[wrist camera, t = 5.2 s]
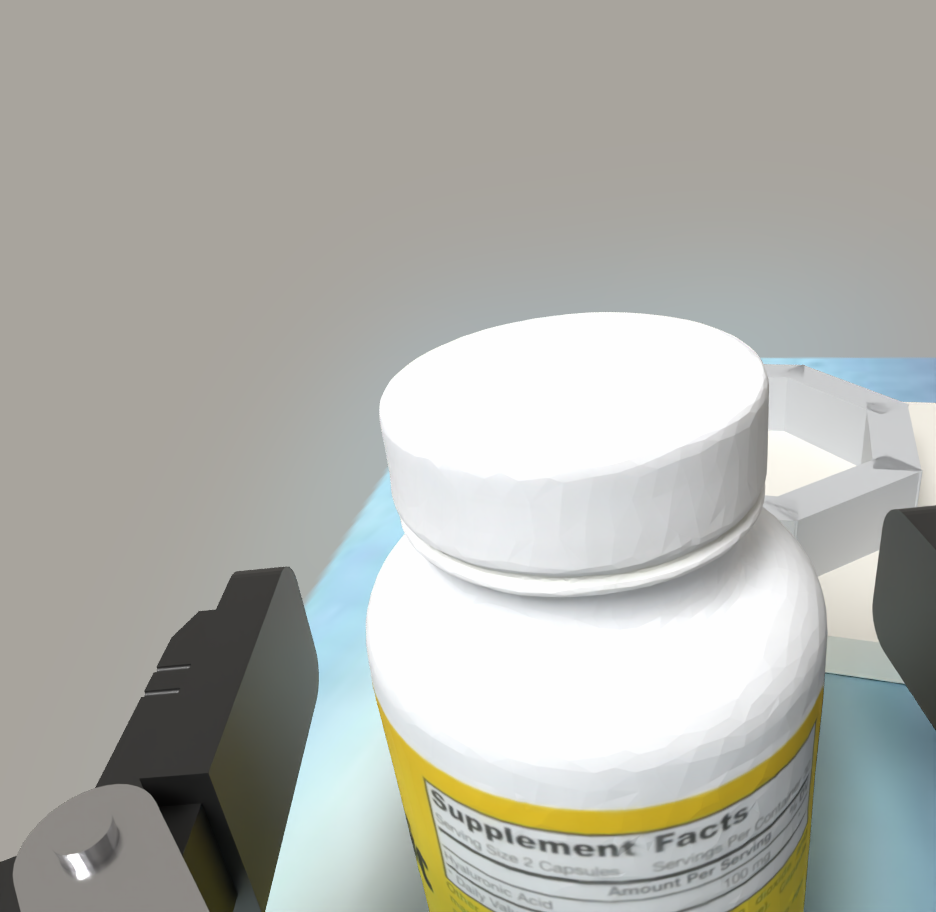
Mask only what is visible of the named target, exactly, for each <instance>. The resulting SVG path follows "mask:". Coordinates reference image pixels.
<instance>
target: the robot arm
mask: <svg viewBox="0 0 936 912" xmlns="http://www.w3.org/2000/svg"><path fill="white" fill-rule="evenodd" d="M872 613H873V622H874V627H875V631H876V635H877V638H878V640H879V643H880V645H881V647H882V649H883V651H884V653H885V654H886V656H887V657H888V659H889V660H890V662H891V663H892V665H893V666H894V668H895V669H896V671H897V672H898V674H899V675H900V677H901V679H902V680H903V682H904V683H905V685H906V686H907V688H908V689H909V691H910V692H911V694H912V695H913V697H914V698H915V700H916V701H917V703H918V704H919V706H920V707H921V709H922V710H923V712H924V714H925V715H926V717H927V718H928V720H929V721H930V723H931V724H932V726H933V727H934V729H935V730H936V505H933V506H923V507H913V508H902V509H893V510H890V511H889V512H888V513H887V514H886V516H885V519H884V522H883V527H882V534H881V541H880V549H879V557H878V564H877V572H876V580H875V587H874V595H873V604H872ZM318 685H319V671H318V660H317V654H316V650H315V646H314V642H313V638H312V635H311V631H310V627H309V624H308V620H307V616H306V612H305V609H304V605H303V601H302V598H301V594H300V590H299V587H298V583H297V579H296V576H295V574H294V572H293V570H292V569H291V568H290V567H278V568H267V569H257V570H247V571H237V572H235V573H234V574H233V575H232V576H231V578H230V580H229V582H228V584H227V587H226V589H225V591H224V593H223V595H222V598H221V600H220V602H219V604H218V606H217V609H216V610H208V611H199V612H198V613H197V614H196V615H195V616H194V617H193V618H191V620H190V621H188V622H187V623H186V624H185V625H184V626H183V628H181V629H180V630H179V631H178V632H177V633H176V634H175V635H174V636H173V637H172V638H171V640H170V642H169V644H168V646H167V648H166V650H165V652H164V654H163V655H162V658H161V660H160V661H159V663H158V665H157V672H155V673H153V675H152V677H151V679H150V681H149V683H148V685H147V687H146V689H145V697H141V699H140V701H139V703H138V705H137V707H136V709H135V711H134V713H133V715H132V717H131V719H130V720H129V722H128V725H127V726H126V728H125V730H124V732H123V734H122V736H121V738H120V740H119V742H118V744H117V746H116V748H115V750H114V752H113V754H112V756H111V758H110V760H109V762H108V764H107V766H106V768H105V770H104V772H103V774H102V776H101V778H100V780H99V782H98V783H97V786H96V787H95V788H94V789H91V790H89V791H86V792H83V793H81V794H79V795H77V796H75V797H73V798H71V799H70V800H68V801H66V802H65V803H63V804H61V805H60V806H58V807H57V808H56V809H54V810H53V811H52V812H50V813H49V814H48V815H47V816H46V817H45V818H44V819H43V820H42V821H41V822H39V824H38V825H37V826H36V827H35V828H34V829H33V830H32V831H31V832H30V834H29V835H28V837H27V838H26V840H25V841H24V842H23V844H22V846H21V848H20V850H19V852H18V854H17V856H15V857H12V858H10V859H7V860H5V861H2V862H0V912H265V910H266V906H267V901H268V897H269V893H270V889H271V885H272V881H273V877H274V873H275V869H276V864H277V860H278V856H279V852H280V848H281V844H282V840H283V836H284V831H285V827H286V823H287V819H288V815H289V811H290V807H291V803H292V799H293V794H294V790H295V786H296V782H297V778H298V774H299V770H300V766H301V761H302V757H303V753H304V749H305V745H306V741H307V737H308V733H309V729H310V724H311V720H312V716H313V712H314V708H315V704H316V700H317V694H318Z"/></svg>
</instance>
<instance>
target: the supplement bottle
mask: <svg viewBox="0 0 936 912" xmlns="http://www.w3.org/2000/svg"><path fill="white" fill-rule="evenodd" d="M768 418H769V381H768V376H767V372H766V369H765V366H764V364H763V362H762V360H761V359H760V358H759V356H758V355H757V354H756V352H755V351H754V350H753V349H752V348H750V347H749V346H748V345H746V344H745V343H744V342H742V341H741V340H739V339H738V338H736V337H735V336H733V335H730V334H728V333H726V332H723V331H721V330H719V329H716V328H713V327H711V326H708V325H705V324H702V323H698V322H694V321H689V320H685V319H679V318H674V317H666V316H659V315H649V314H640V313H621V312H595V313H580V314H567V315H559V316H551V317H543V318H536V319H530V320H526V321H521V322H515V323H509V324H505V325H502V326H497V327H493V328H489V329H485V330H482V331H479V332H476V333H473V334H470V335H467V336H464V337H460V338H458V339H456V340H454V341H451V342H449V343H447V344H445V345H442V346H439V347H437V348H435V349H433V350H431V351H429V352H427V353H425V354H424V355H422V356H420V357H418V358H417V359H415V360H414V361H412V362H411V363H410V364H408V365H407V366H406V367H405V368H403V369H402V370H401V371H400V372H399V373H398V374H396V375H395V377H394V378H393V379H392V380H391V381H390V383H389V384H388V386H387V387H386V389H385V391H384V393H383V395H382V398H381V401H380V425H381V430H382V435H383V440H384V445H385V450H386V456H387V461H388V467H389V472H390V481H391V491H392V497H393V500H394V504H395V507H396V509H397V511H398V513H399V515H400V519H401V524H402V528H403V530H404V532H405V534H404V535H403V536H402V538H401V539H400V540H399V542H398V543H397V544H396V545H395V547H394V548H393V549H392V551H391V552H390V554H389V555H388V557H387V558H386V560H385V562H384V564H383V566H382V568H381V570H380V572H379V574H378V576H377V578H376V581H375V584H374V587H373V589H372V592H371V596H370V600H369V604H368V610H367V617H366V647H367V653H368V660H369V666H370V671H371V678H372V684H373V689H374V693H375V697H376V701H377V705H378V709H379V712H380V716H381V720H382V724H383V728H384V732H385V735H386V739H387V743H388V747H389V751H390V755H391V759H392V763H393V767H394V771H395V775H396V779H397V783H398V787H399V791H400V795H401V799H402V803H403V807H404V811H405V815H406V819H407V823H408V827H409V831H410V836H411V840H412V843H413V847H414V852H415V855H416V859H417V864H418V869H419V872H420V876H421V879H422V883H423V887H424V891H425V895H426V899H427V903H428V908H429V912H804V901H805V890H806V877H807V865H808V854H809V844H810V832H811V819H812V806H813V793H814V780H815V770H816V761H817V751H818V742H819V732H820V723H821V713H822V704H823V694H824V680H825V666H826V651H827V635H828V630H827V613H826V605H825V600H824V595H823V592H822V588H821V585H820V582H819V579H818V577H817V574H816V571H815V568H814V566H813V565H812V563H811V561H810V559H809V557H808V556H807V554H806V553H805V551H804V549H803V548H802V546H801V545H800V543H799V542H798V540H797V539H796V538H795V537H794V536H793V535H792V534H791V532H790V531H789V530H788V529H787V528H786V527H785V526H784V525H783V524H782V523H781V522H780V521H779V520H778V519H777V518H776V517H775V516H774V515H773V514H771V513H770V512H769V511H767V510H766V509H765V508H764V507H763V504H764V500H765V480H766V475H767V457H768Z"/></svg>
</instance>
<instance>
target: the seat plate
mask: <svg viewBox="0 0 936 912" xmlns="http://www.w3.org/2000/svg"><path fill="white" fill-rule="evenodd" d="M764 366H765V369H766V372H767V376H768V381H769V418H768V457H767V475H766V480H765V500H764V504H763V507H764V508H765V509H766V510H767V511H769V512H770V513H771V514H773V515H774V516H775V517H776V518H777V519H778V520H779V521H780V522H781V523H782V524H783V525H784V526H785V527H786V528H787V529H788V530H789V531H790V532H791V534H792V535H793V536H794V537H795V538H796V539H797V540H798V542H799V543H800V545H801V546H802V548H803V549H804V551H805V553H806V554H807V556H808V557H809V559H810V561H811V563H812V565H813V566H814V568H815V571H816V574H817V577H818V579H819V582H820V585H821V588H822V592H823V595H824V600H825V605H826V613H827V630H828V635H827V651H826V666H825V672H827V673H834V674H841V675H848V676H855V677H861V678H868V679H875V680H882V681H889V682H896V683H902V684H905V683H904V682H903V680H902V679H901V677H900V675H899V674H898V672H897V671H896V669H895V668H894V666H893V665H892V663H891V662H890V660H889V659H888V657H887V656H886V654H885V653H884V651H883V649H882V647H881V645H880V643H879V640H878V638H877V635H876V631H875V627H874V622H873V613H872V604H873V595H874V587H875V580H876V572H877V564H878V557H879V549H880V541H881V534H882V527H883V522H884V519H885V516H886V514H887V513H888V512H889V511H890V510H893V509H902V508H913V507H923V506H933V505H936V403H920V402H901V401H898V400H896V399H893V398H890V397H888V396H885V395H882V394H879V393H877V392H874V391H871V390H869V389H866V388H863V387H861V386H858V385H855V384H853V383H850V382H847V381H845V380H842V379H839V378H837V377H834V376H831V375H829V374H826V373H823V372H821V371H818V370H815V369H812V368H810V367H807V366H805V365H773V364H764Z"/></svg>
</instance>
